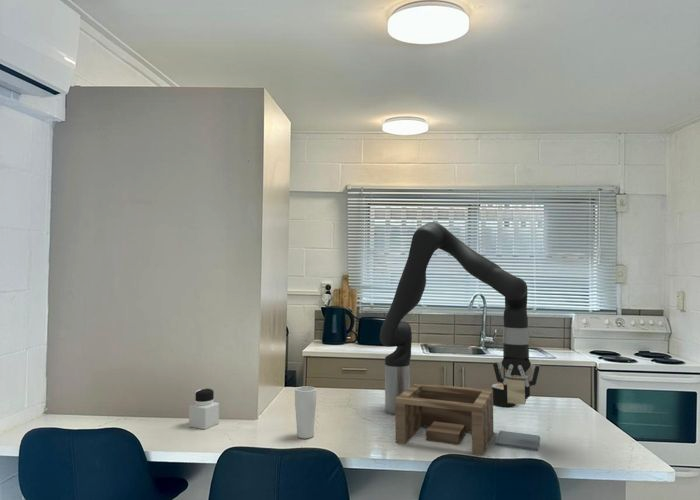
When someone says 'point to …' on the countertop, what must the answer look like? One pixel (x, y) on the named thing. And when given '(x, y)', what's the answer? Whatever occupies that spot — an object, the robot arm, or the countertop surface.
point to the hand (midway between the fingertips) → (516, 397)
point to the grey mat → (517, 440)
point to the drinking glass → (305, 411)
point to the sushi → (500, 396)
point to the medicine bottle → (204, 410)
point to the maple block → (516, 390)
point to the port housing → (445, 414)
